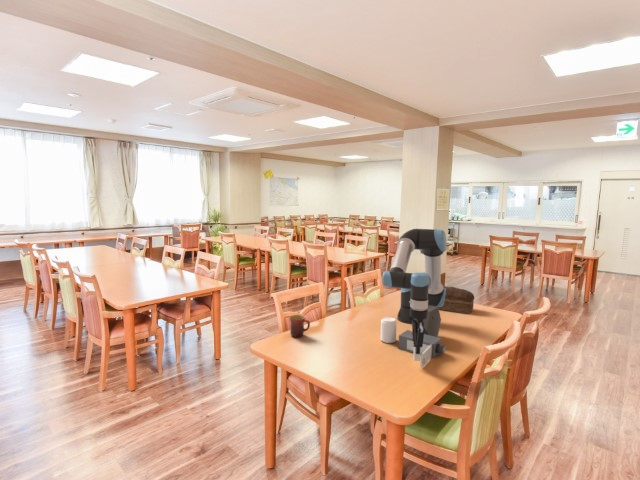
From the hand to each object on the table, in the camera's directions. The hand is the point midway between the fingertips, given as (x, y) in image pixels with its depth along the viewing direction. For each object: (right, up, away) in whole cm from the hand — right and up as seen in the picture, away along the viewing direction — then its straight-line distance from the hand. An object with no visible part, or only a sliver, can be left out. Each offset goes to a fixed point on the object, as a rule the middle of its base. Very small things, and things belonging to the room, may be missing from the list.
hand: (416, 359), depth 160 cm
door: (+6, -3, +5) cm, 8 cm away
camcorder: (+8, -2, +19) cm, 20 cm away
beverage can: (-7, -1, +32) cm, 32 cm away
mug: (-54, 0, +38) cm, 66 cm away
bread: (+47, +5, +91) cm, 103 cm away
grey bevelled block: (+15, -1, +35) cm, 38 cm away
